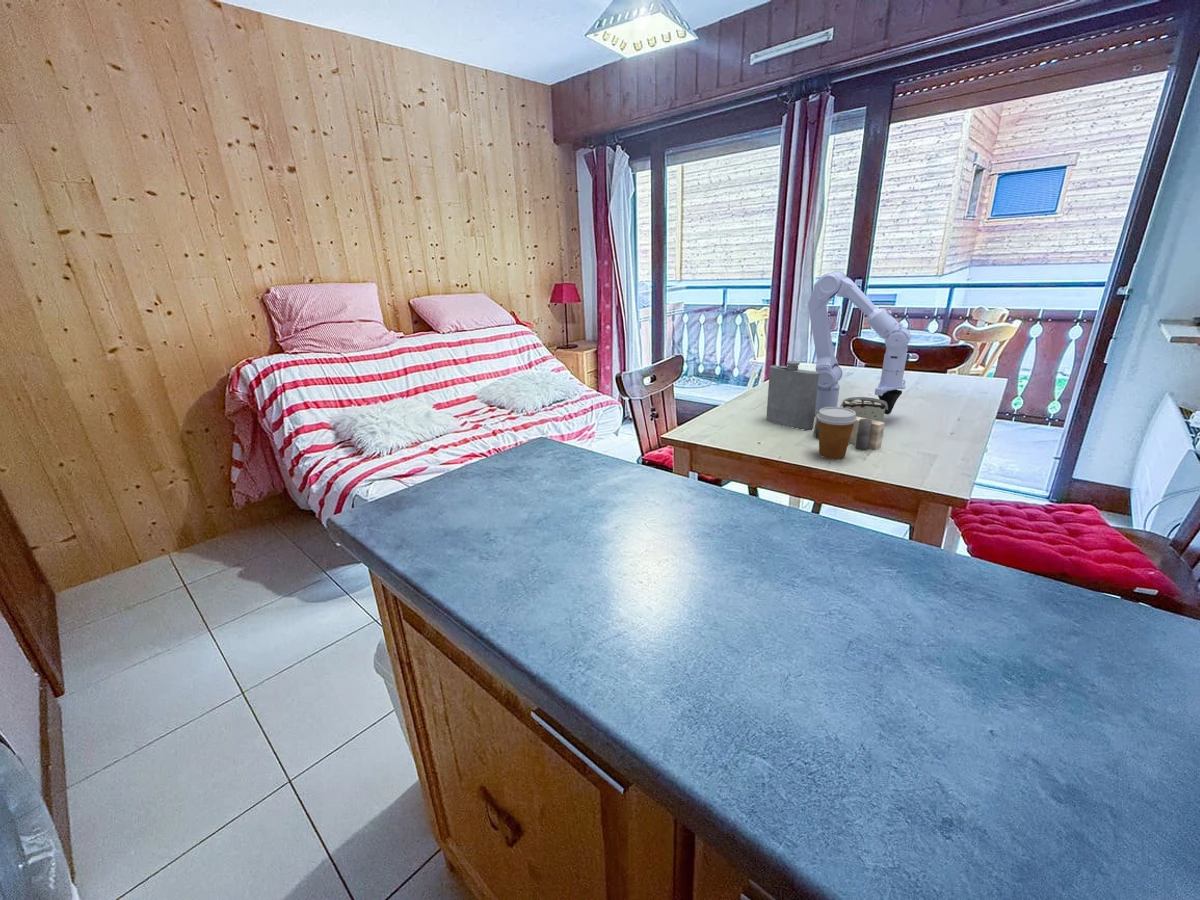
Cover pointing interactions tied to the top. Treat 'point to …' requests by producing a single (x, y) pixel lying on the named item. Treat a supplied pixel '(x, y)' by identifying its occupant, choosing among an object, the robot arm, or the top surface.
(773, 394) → the hip flask
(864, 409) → the food container
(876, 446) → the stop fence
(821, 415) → the disposable coffee cup
